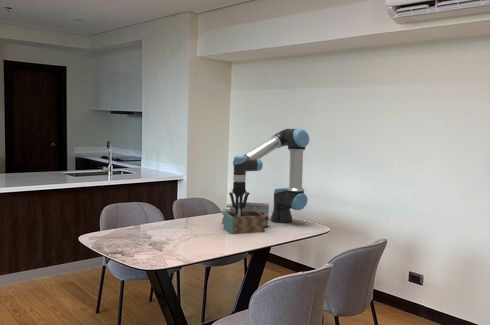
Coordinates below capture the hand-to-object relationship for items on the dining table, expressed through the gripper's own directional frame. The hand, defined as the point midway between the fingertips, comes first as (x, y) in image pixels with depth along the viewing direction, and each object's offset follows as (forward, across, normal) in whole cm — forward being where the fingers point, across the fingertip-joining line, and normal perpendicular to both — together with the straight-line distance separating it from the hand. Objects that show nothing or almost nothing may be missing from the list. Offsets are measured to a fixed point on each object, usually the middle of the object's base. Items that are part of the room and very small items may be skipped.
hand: (238, 219), depth 273 cm
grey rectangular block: (+9, -10, -17) cm, 22 cm away
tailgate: (+7, +6, 0) cm, 9 cm away
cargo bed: (+9, -4, 0) cm, 10 cm away
